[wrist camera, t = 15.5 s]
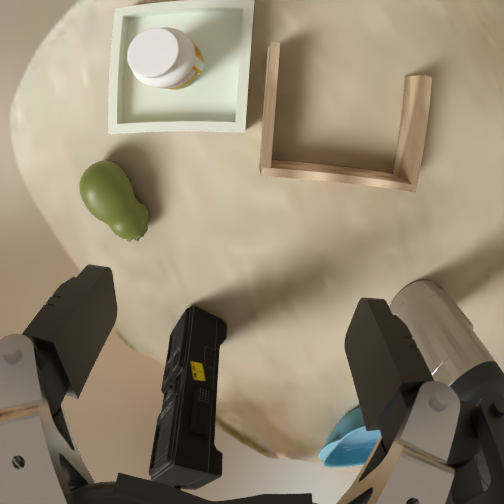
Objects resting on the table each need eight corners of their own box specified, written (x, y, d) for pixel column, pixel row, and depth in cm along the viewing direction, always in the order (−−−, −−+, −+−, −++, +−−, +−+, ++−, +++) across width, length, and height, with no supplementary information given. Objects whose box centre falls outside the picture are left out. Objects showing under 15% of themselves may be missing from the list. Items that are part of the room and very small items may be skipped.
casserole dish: (302, 448, 62) (305, 473, 56) (334, 397, 52) (342, 427, 46) (422, 433, 66) (429, 452, 59) (466, 383, 56) (478, 404, 49)
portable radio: (191, 297, 40) (158, 482, 18) (231, 316, 41) (228, 497, 19) (169, 334, 43) (134, 496, 20) (205, 350, 44) (191, 511, 22)
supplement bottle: (158, 39, 25) (126, 18, 16) (209, 44, 25) (196, 21, 17) (148, 87, 27) (111, 84, 18) (198, 93, 28) (180, 89, 19)
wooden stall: (411, 77, 27) (431, 77, 23) (397, 180, 33) (415, 192, 29) (267, 50, 26) (271, 41, 22) (258, 166, 32) (261, 175, 28)
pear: (101, 161, 26) (155, 238, 32) (116, 145, 30) (162, 213, 36) (63, 189, 27) (116, 258, 32) (81, 170, 31) (126, 233, 37)
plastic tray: (253, 7, 24) (254, 0, 22) (244, 130, 30) (245, 132, 28) (123, 14, 23) (115, 8, 21) (117, 131, 30) (108, 134, 27)
